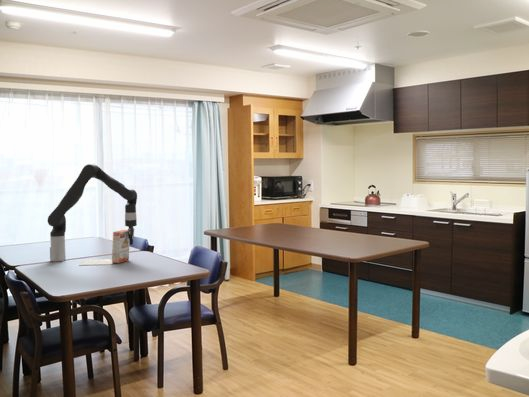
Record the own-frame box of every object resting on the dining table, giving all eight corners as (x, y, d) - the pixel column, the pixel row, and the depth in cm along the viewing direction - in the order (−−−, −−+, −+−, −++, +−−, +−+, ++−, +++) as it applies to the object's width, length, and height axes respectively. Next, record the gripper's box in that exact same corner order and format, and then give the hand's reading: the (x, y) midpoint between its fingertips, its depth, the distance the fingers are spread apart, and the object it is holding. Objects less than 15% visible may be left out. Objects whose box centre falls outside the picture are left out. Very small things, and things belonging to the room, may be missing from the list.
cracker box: (119, 263, 326) (120, 232, 325) (111, 262, 328) (112, 231, 326) (129, 260, 340) (130, 230, 339) (121, 259, 341) (122, 229, 340)
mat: (79, 265, 322) (79, 265, 322) (85, 260, 340) (85, 259, 340) (112, 264, 325) (112, 263, 325) (117, 259, 342) (117, 258, 342)
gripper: (126, 218, 339) (127, 243, 340) (123, 220, 326) (124, 246, 327) (137, 217, 340) (138, 242, 341) (135, 220, 327) (135, 245, 328)
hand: (131, 244), depth 334 cm, fingers closed
